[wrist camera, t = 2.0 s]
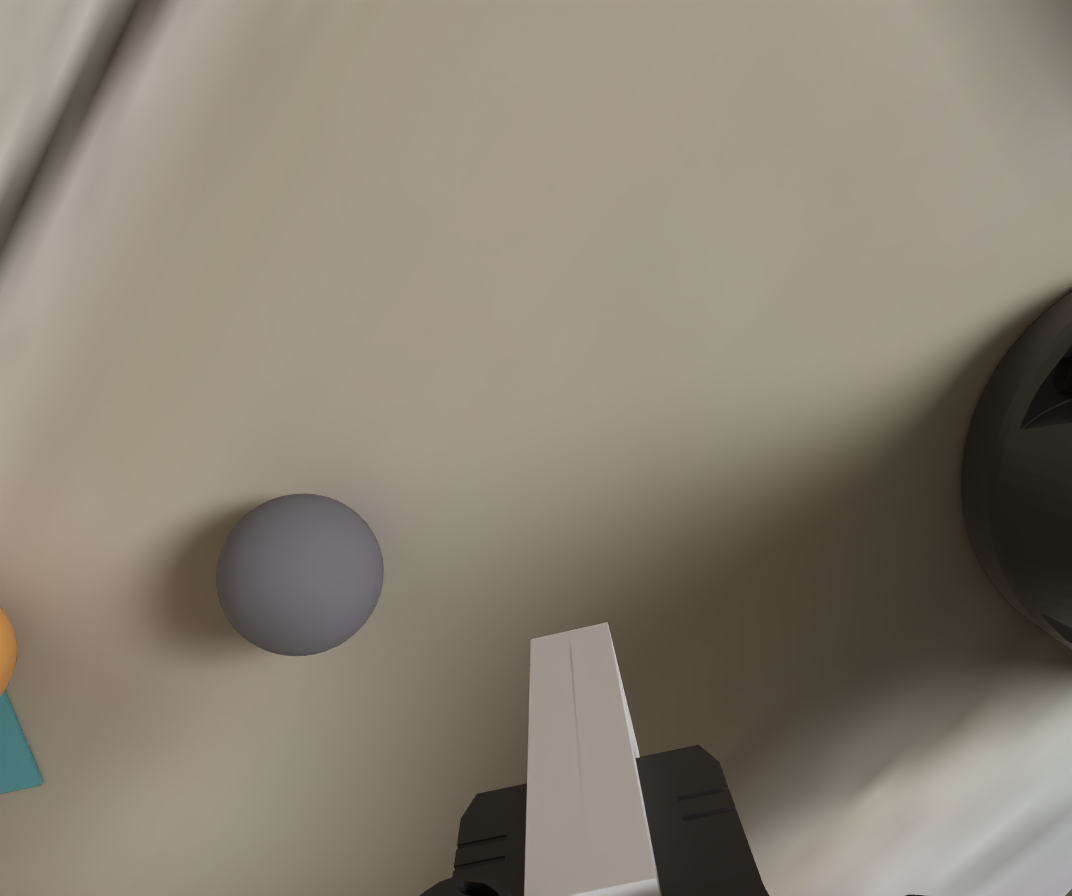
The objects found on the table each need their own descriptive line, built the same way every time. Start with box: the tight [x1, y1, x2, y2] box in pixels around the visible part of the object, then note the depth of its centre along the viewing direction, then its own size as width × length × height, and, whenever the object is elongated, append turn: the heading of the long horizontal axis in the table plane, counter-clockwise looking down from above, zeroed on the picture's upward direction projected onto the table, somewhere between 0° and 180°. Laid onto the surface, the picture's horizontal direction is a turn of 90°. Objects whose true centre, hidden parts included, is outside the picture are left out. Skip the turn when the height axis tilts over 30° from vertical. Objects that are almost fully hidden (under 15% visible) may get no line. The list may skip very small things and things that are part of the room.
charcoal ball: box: [217, 494, 383, 656], centre depth 28 cm, size 6×6×6 cm
